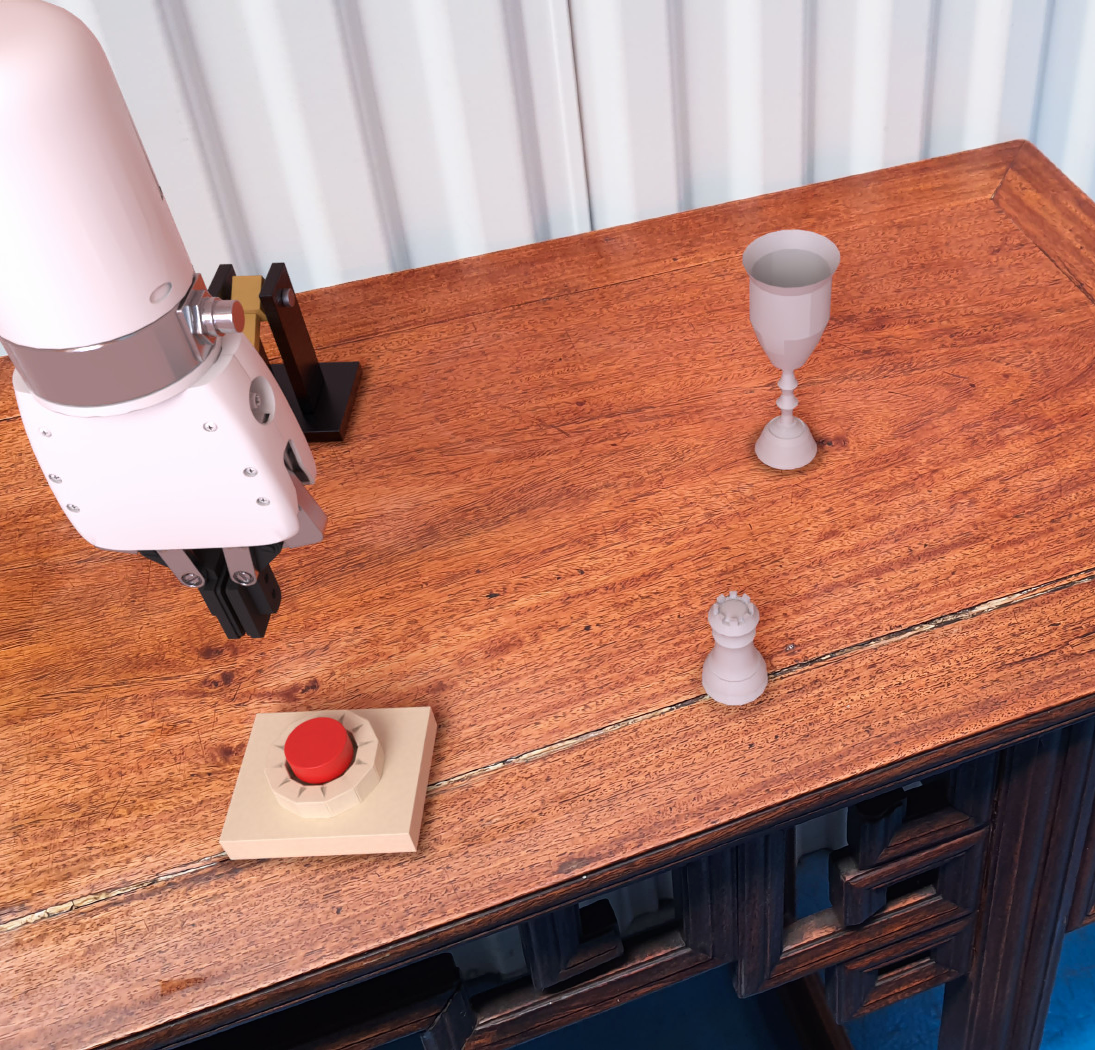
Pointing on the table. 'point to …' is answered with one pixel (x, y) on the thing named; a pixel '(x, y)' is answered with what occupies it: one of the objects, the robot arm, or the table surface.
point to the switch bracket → (300, 359)
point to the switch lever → (250, 305)
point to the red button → (318, 750)
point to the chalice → (789, 327)
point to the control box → (333, 788)
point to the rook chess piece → (734, 652)
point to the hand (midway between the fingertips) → (253, 616)
